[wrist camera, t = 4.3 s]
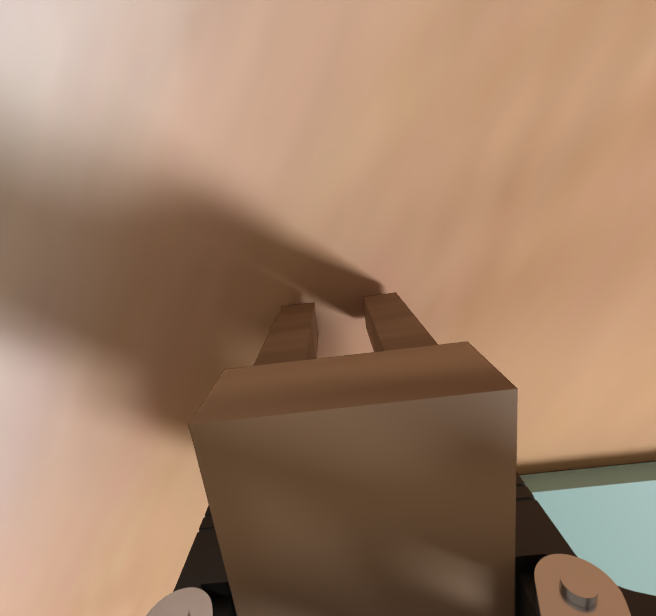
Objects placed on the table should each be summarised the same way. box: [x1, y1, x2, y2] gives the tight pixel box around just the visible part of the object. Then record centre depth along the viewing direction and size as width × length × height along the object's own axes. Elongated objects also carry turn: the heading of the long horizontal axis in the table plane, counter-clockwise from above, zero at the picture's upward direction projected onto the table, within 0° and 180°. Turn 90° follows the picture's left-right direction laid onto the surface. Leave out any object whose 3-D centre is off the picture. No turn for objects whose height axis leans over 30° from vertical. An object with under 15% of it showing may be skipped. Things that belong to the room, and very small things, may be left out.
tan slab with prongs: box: [189, 293, 517, 616], centre depth 11 cm, size 9×5×8 cm, turn 7°
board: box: [519, 461, 656, 596], centre depth 16 cm, size 11×15×1 cm
